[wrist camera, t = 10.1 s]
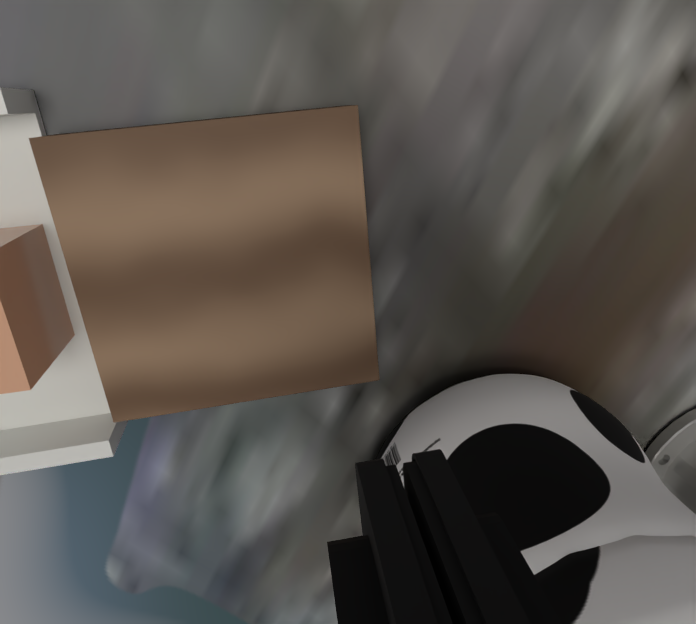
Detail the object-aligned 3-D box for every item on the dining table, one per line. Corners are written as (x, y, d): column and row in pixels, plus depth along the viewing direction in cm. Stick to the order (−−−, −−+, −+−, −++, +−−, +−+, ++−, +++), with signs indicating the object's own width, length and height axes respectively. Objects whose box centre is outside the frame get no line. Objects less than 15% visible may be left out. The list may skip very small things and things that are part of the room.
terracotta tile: (30, 389, 23) (-32, 398, 23) (74, 335, 28) (25, 341, 28) (-15, 255, 21) (-85, 262, 20) (42, 223, 26) (-12, 229, 26)
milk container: (602, 521, 41) (841, 808, 24) (385, 592, 40) (477, 942, 23) (585, 320, 34) (900, 523, 17) (324, 400, 33) (392, 696, 16)
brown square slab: (367, 352, 32) (379, 380, 29) (128, 389, 31) (113, 422, 27) (345, 105, 27) (357, 105, 24) (57, 134, 25) (28, 138, 22)
